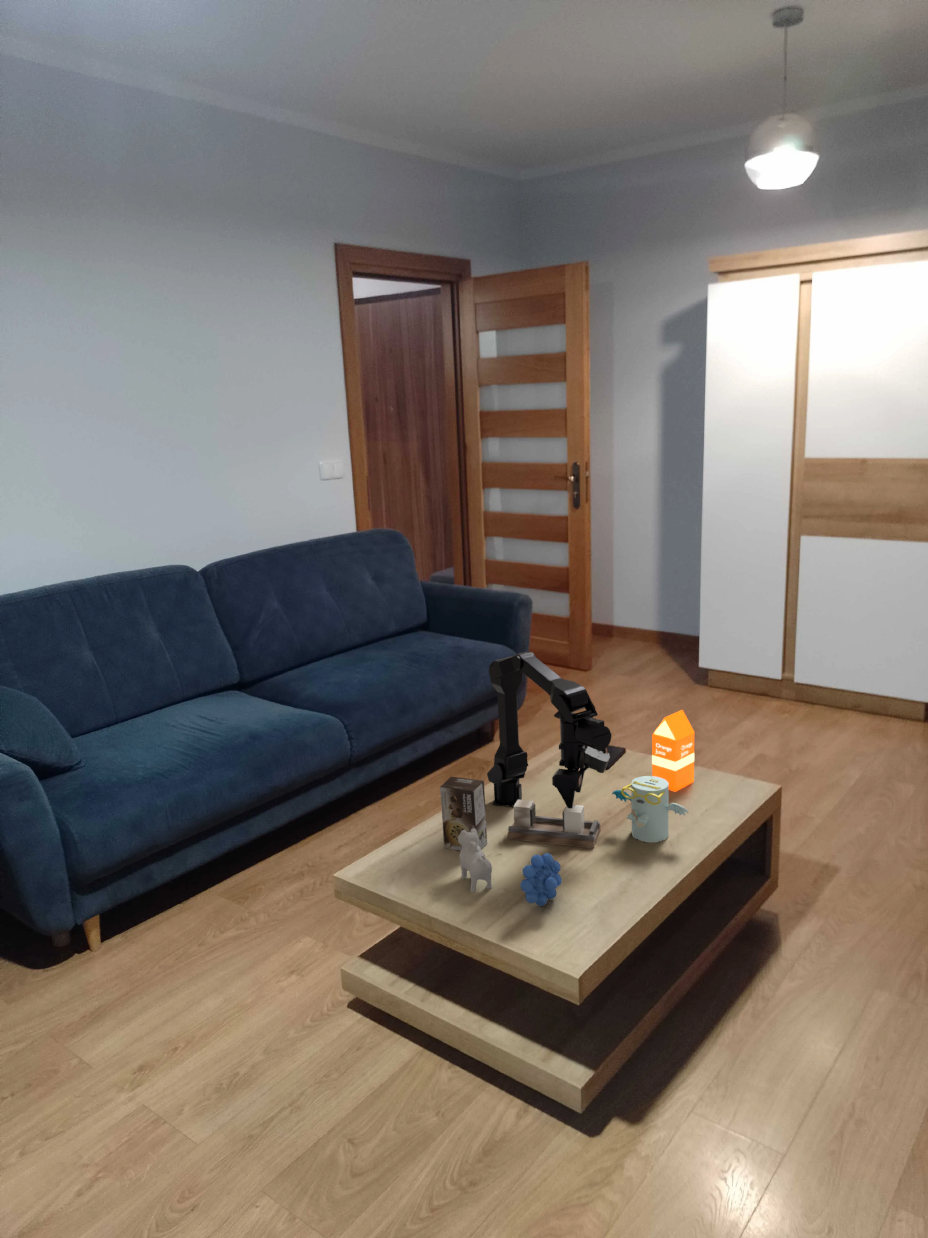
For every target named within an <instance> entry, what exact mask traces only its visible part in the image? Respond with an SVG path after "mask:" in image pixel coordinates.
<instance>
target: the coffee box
mask: <svg viewBox="0 0 928 1238" xmlns="http://www.w3.org/2000/svg"><path fill="white" fill-rule="evenodd" d="M439 791H440V792H439V794H440V805H441V817H442V818H441V819H442V832H443V833H442V834H443V835H442V836H443V848H444V849H447V850H454V851H459V852H461V850H462V845H461V844H460V843H459V842H458V836H459V835H460V834H461V831H462V830H466V832H467V833H468V832H471V829H476V831H477V835H478V837H479V846H480V847H481V850H483V848H484V847H485V846H486V845H487V844H488V834H487V833H488V832H487V831H488V829H487V813H486V811H487V810H486V796H485V794H486V793H485V780H482V779H481V780H480V779H473V778H465V777H457V776H450V777H449V778H448V779H446V781H444V782H443V783H442V784H441V785H440V786H439Z"/></svg>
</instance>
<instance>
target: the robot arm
mask: <svg viewBox="0 0 928 1238" xmlns="http://www.w3.org/2000/svg"><path fill="white" fill-rule="evenodd" d="M488 674H489V678H490V679H489V680H490V683H491V685H492V686H493V688H494V690H495V691H496V693H497V713H498V714H497V715H498V733H499V746H498V748H497V749H496V752H495V753H494V759H493V766H492V767H491V768H490V769H489V770H488V772H487V774H486V776H487V778H488V781H489V782H490V783H492V784H493V793H494V794H493V801H492V805H493V806H501V807H503V806H505V807H512V808H514V805H515V803H516V802H517V800H523V799H522V798H523V793H522V789H523V788H522V784H521V783H520V780H521V779H525V776H526V772H527V769H528V766H529V762H528V754H529V753H527V751H524V750H523V748H522V747H521V745H520V739H519V737H520V736H519V716H518V715H519V714H518V712H519V711H518V690H519V688H520V686H521V684H522V683H523V675H525V676H526V677H527V678H528V679H530V680H531V681H532V682H533V683H535V684H536V685H537V686H538V687H539V688H541V689H542V690H543V691H544V692H545V693H547V695H548V696H549V699H550V702H551V704H552V705H553V706H554V708H555V709H556V710H557V712H555V713H554V714H553V717H554V718H556V719H558V720H559V726H560V727H559V728H560V730H559V731H560V734H559V735H560V743H559V744H558V750H560V759H559V761H558V763H559V764H558V766H560V767H564V768H558V769H557V770H556V771H555V772H554V773H553V775H552V777H551V782H552V783H551V784H552V786H553V787H554V788H556V789H557V791H558V793H559V794H560V796H561V798H562V800H563V802H564V803H565V805H566V806H567V808H571V809H572V808H573V805H574V801H575V795H576V793H581V791H582V787H583V782H584V777H585V773H586V771H587V770H588V769H589V768H590V769H592V770H594V771H596V772H597V773H599V774H604V773H605V770H606V769H607V766H608V763H609V761H610V759H611V755H610V752H608V747H609V745H610V743H611V740H612V732H611V730H610V728H609V727H608V726H606V725H605V721H604V720H602V719H599V718H594V717H598V711H597V710H596V706H595V704H594V703H593V701H592V699H591V697H590V695H589V693H588V690H587V689H586V688H585V687H584V686H583V685H581V684H579V683H578V682H575V681H574V680H573V681H572V680H568V679H564V678H562V677H561V676H559V674H557V673H556V672H554V671H553V670H552V669H551V668H549V667H548V666H547V665H546V664H544V663H543V662H542V661H541V660H540V659H539V658H537V657H536V655H535V654H534V652H532V651H531V652H530V651H525V652H520V653H516V654H515V655H514V656H513V655H512V656H508V657H503V658H500V659H496V660H493V661H491V663H490V664H489V665H488ZM584 709H585V710H584ZM581 710H582V711H581ZM577 711H579V712H577ZM566 806H565V807H566Z"/></svg>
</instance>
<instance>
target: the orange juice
mask: <svg viewBox="0 0 928 1238" xmlns="http://www.w3.org/2000/svg"><path fill="white" fill-rule="evenodd" d="M651 736H652V737H651V740H652V741H651V751H652V752H651V770H652V771H651V774H652V775H651V776H655V777H660V778H663V779H665V780H667V782H668V784H669V791H671V792H674V793H676V792H678V791H679V790H681V789H684V788H686V787H687V786H689V785H691V784H693V783H694V782H695V730H694V728H693V727H692V724H691V722H690V720H689V719H688V717H687V715H686V713H685V712H684V709H680V710H679V711H676V712H674V713H672V714H669V715H667V716H665V717H663V719H662V721H661V722H660V724H659V725H658V726H657V727H656V729H655V730H654V732H653V733H652V734H651Z"/></svg>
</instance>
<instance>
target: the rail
mask: <svg viewBox="0 0 928 1238" xmlns="http://www.w3.org/2000/svg"><path fill="white" fill-rule="evenodd" d="M534 802H535V801H534V800H526V799H521V800H517V802H516V803H515V805H514V807H513V824H512V825H509V826H508V827H507V830H508V832H507V839H508V840H514V841H515V840H516V841H523V842H524V841H526V842H532V843H543V844H551V845H561V846H569V847H578V848H586V849H587V848H589V849H594V848H595V845H596V844H597V841H598V838H599V836H600V834H601V831H602V830H601V829H602V827H601V823H600V821H599V820H595V819H594V820H593V821H592V820H591V821H590V820H584V831H583V833H572V832H565V830H563V817H562V818H560V817H551V816H541V815H536V804H535V803H534Z"/></svg>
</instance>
